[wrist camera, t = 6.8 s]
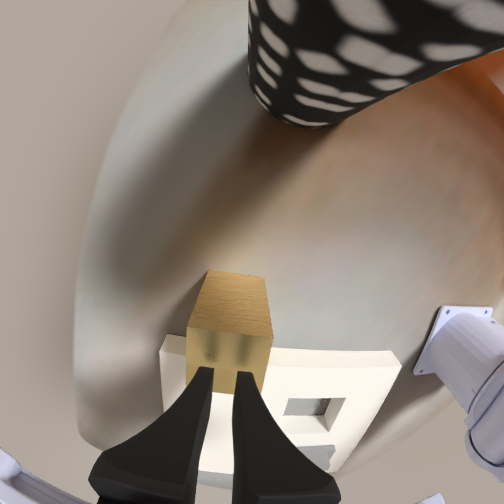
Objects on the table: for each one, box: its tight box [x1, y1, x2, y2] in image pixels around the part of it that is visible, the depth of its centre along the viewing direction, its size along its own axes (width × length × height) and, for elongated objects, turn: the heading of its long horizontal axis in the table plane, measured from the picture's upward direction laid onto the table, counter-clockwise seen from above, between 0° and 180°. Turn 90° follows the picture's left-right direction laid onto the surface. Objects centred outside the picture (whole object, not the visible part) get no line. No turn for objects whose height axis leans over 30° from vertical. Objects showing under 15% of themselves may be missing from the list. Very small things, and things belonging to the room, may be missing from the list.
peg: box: [186, 270, 273, 395], centre depth 17 cm, size 4×4×8 cm
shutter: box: [297, 445, 336, 471], centre depth 22 cm, size 8×8×3 cm
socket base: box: [159, 334, 402, 474], centre depth 23 cm, size 20×18×2 cm
